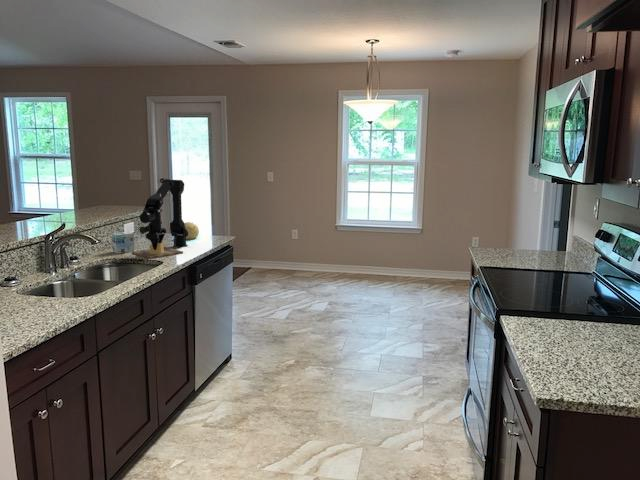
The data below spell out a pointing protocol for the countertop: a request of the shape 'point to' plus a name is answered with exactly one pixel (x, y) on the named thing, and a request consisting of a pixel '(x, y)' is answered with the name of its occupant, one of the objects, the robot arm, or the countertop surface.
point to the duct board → (166, 253)
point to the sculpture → (191, 230)
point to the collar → (159, 249)
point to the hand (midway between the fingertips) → (157, 248)
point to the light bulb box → (123, 242)
